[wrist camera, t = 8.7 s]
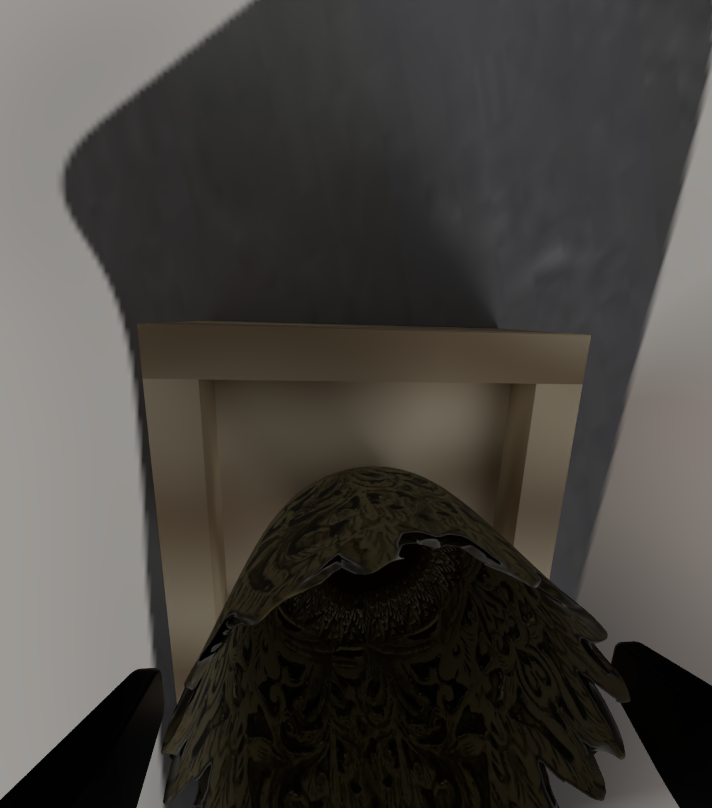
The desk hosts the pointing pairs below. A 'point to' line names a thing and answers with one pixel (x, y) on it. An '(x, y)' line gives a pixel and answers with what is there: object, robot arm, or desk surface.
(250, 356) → the wooden box
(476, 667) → the cup
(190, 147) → the desk surface
